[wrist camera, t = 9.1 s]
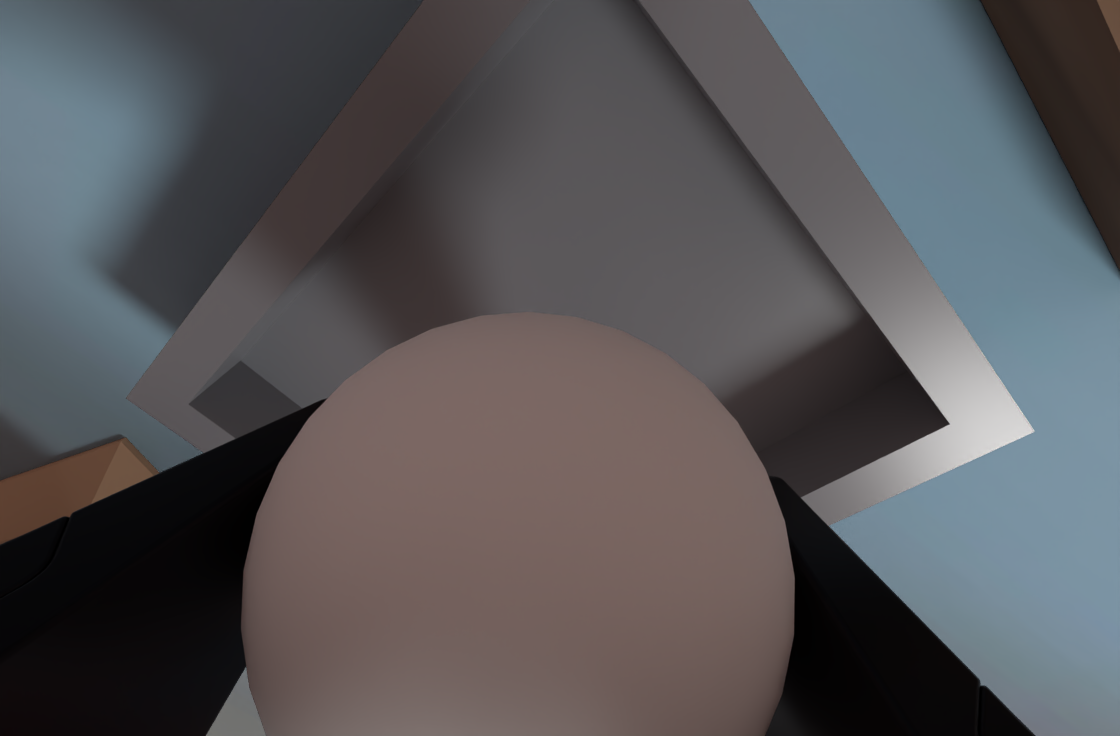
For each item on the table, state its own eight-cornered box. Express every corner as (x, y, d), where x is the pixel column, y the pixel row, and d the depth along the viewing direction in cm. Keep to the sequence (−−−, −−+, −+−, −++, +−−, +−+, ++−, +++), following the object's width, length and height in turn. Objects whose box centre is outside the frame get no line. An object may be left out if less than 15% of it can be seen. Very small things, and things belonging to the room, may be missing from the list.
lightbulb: (503, 709, 14) (311, 1478, 3) (382, 494, 15) (-72, 473, 4) (704, 565, 14) (1132, 747, 4) (574, 372, 16) (618, 89, 5)
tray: (528, 592, 21) (513, 669, 19) (203, 342, 17) (125, 398, 14) (962, 360, 14) (1034, 431, 12) (605, -162, 10) (595, -230, 7)
